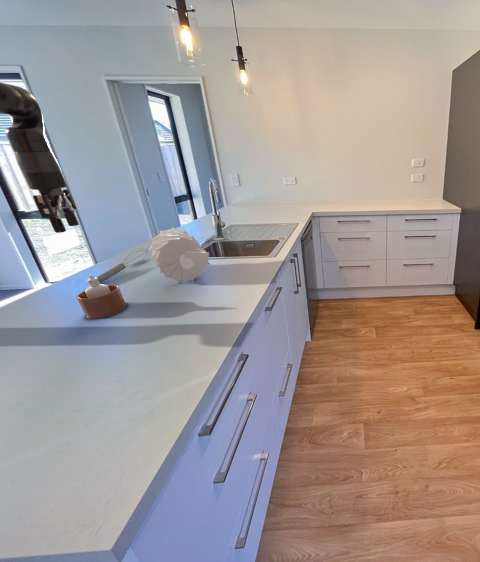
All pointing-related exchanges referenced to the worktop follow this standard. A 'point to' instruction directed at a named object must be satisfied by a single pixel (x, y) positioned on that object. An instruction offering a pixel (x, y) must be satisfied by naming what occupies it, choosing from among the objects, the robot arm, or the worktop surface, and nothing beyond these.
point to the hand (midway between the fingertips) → (67, 228)
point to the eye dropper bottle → (96, 288)
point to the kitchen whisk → (117, 269)
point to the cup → (102, 303)
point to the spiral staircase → (179, 255)
